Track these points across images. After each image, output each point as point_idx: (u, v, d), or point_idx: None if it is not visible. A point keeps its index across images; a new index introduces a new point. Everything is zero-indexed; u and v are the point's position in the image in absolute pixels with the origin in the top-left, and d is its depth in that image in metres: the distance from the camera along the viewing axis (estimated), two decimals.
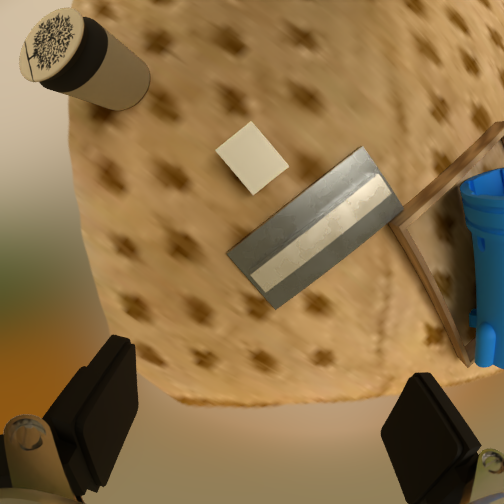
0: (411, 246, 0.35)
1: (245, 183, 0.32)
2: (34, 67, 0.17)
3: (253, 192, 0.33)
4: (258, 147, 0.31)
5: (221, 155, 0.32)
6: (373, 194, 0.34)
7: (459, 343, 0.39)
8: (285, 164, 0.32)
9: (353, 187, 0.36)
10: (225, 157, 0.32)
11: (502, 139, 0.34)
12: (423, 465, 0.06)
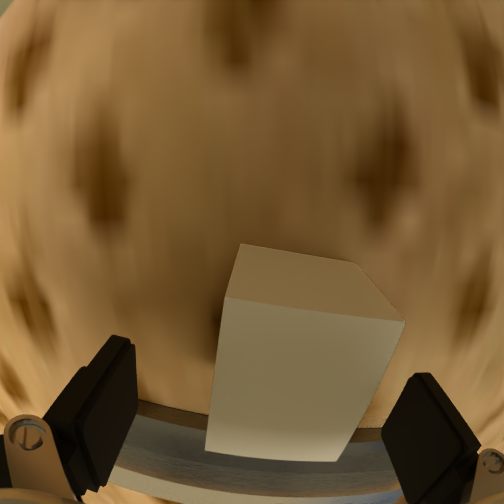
0: None
1: (213, 427, 0.09)
2: None
3: (211, 448, 0.09)
4: (336, 395, 0.08)
5: (226, 328, 0.08)
6: (372, 502, 0.14)
7: None
8: (335, 455, 0.09)
9: (362, 471, 0.15)
10: (229, 344, 0.08)
11: None
12: (423, 465, 0.06)
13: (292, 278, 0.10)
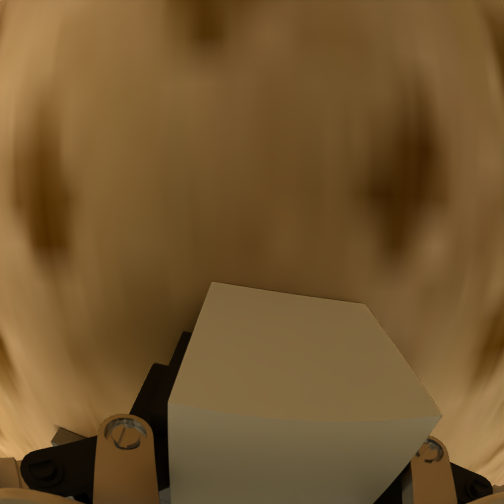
0: None
1: None
2: None
3: None
4: (337, 496, 0.05)
5: (177, 438, 0.04)
6: None
7: None
8: None
9: None
10: (185, 453, 0.05)
11: None
12: None
13: (279, 348, 0.06)
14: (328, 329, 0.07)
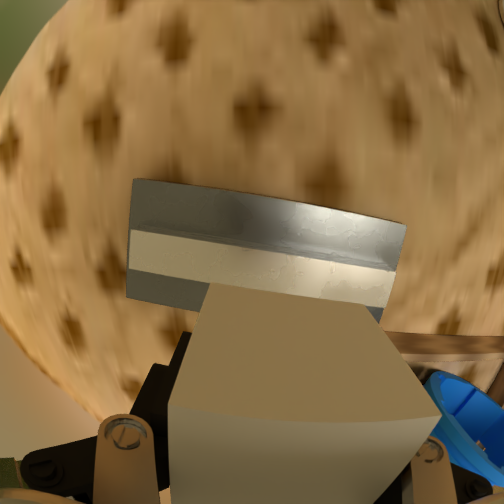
0: None
1: None
2: None
3: None
4: (337, 496, 0.05)
5: (177, 440, 0.04)
6: (367, 288, 0.22)
7: None
8: None
9: (351, 257, 0.23)
10: (184, 455, 0.05)
11: None
12: None
13: (279, 349, 0.06)
14: (327, 330, 0.07)
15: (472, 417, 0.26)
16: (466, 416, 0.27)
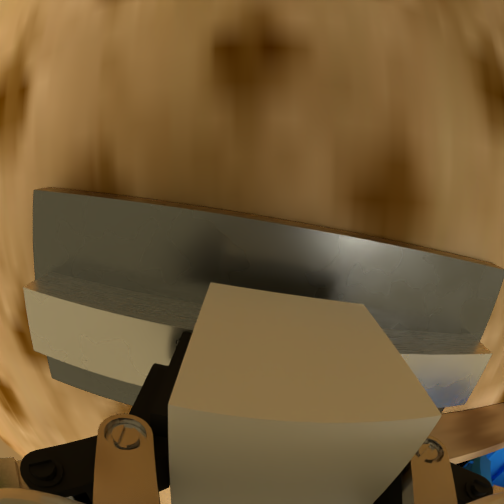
0: None
1: None
2: None
3: None
4: (337, 496, 0.05)
5: (177, 440, 0.04)
6: (447, 385, 0.10)
7: None
8: None
9: (424, 329, 0.12)
10: (185, 455, 0.05)
11: None
12: None
13: (279, 349, 0.06)
14: (327, 330, 0.07)
15: None
16: None
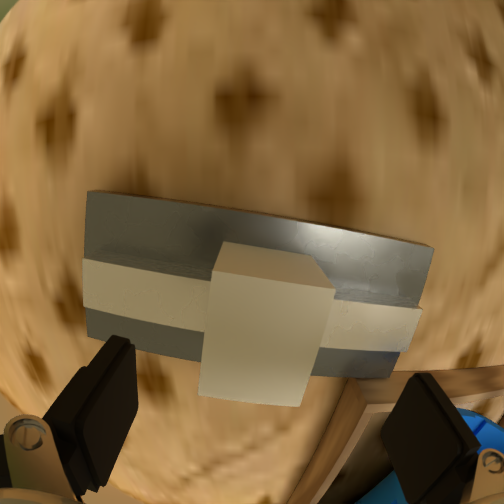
0: (351, 437, 0.18)
1: (204, 372, 0.13)
2: None
3: (202, 392, 0.13)
4: (291, 344, 0.13)
5: (213, 292, 0.12)
6: (386, 331, 0.16)
7: None
8: (297, 400, 0.14)
9: (366, 290, 0.18)
10: (215, 303, 0.12)
11: None
12: (423, 465, 0.06)
13: (258, 262, 0.14)
14: (285, 260, 0.15)
15: (481, 450, 0.21)
16: None
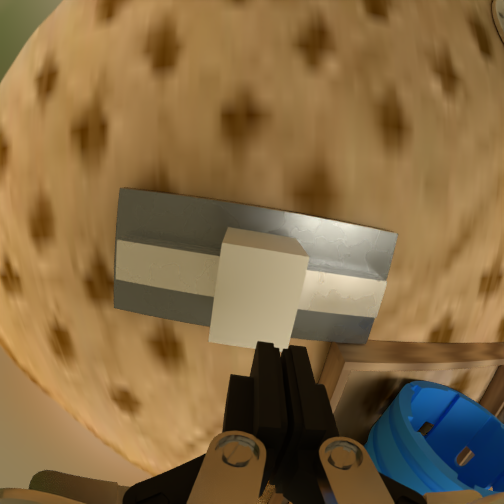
0: (334, 393, 0.23)
1: (214, 321, 0.18)
2: None
3: (212, 339, 0.19)
4: (278, 298, 0.18)
5: (222, 258, 0.17)
6: (357, 298, 0.22)
7: None
8: (284, 346, 0.19)
9: (341, 266, 0.23)
10: (224, 266, 0.17)
11: None
12: None
13: (254, 240, 0.19)
14: (274, 240, 0.20)
15: (457, 423, 0.26)
16: (451, 423, 0.26)
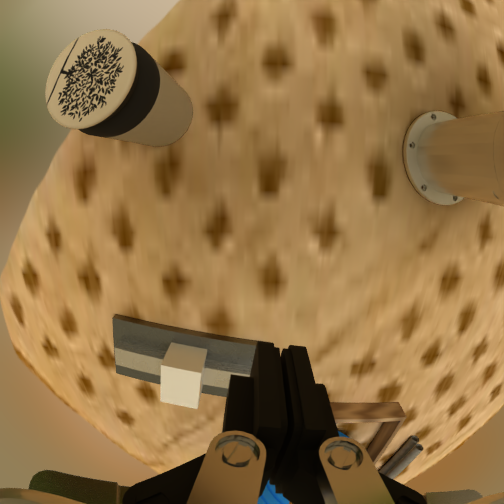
0: None
1: (162, 393, 0.35)
2: (57, 91, 0.16)
3: (162, 400, 0.36)
4: (189, 387, 0.35)
5: (162, 370, 0.34)
6: None
7: None
8: (196, 406, 0.36)
9: (235, 363, 0.40)
10: (163, 373, 0.34)
11: None
12: None
13: (179, 358, 0.36)
14: (191, 355, 0.37)
15: None
16: None
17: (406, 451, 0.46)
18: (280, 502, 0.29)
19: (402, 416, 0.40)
